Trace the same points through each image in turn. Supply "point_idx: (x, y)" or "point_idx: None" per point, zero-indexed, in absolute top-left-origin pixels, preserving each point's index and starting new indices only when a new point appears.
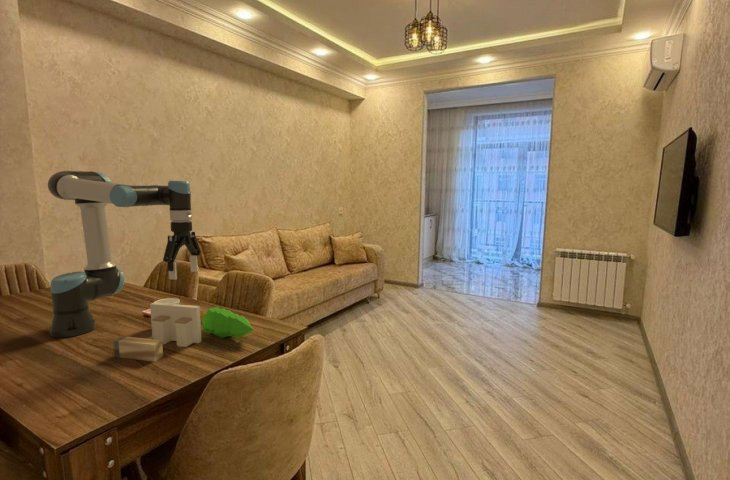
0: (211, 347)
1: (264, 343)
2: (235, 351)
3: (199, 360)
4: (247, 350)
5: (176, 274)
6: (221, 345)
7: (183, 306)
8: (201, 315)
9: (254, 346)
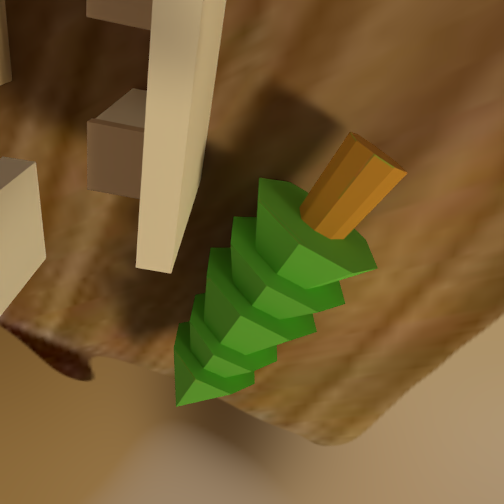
0: None
1: None
2: (127, 323)
3: None
4: (142, 352)
5: (8, 299)
6: None
7: (149, 173)
8: (352, 156)
9: None
